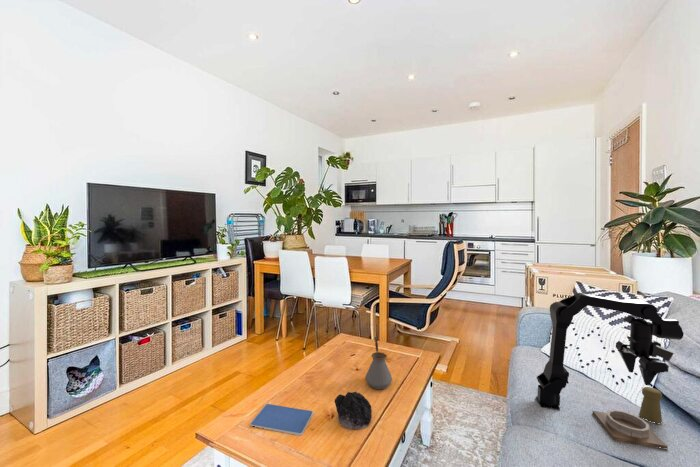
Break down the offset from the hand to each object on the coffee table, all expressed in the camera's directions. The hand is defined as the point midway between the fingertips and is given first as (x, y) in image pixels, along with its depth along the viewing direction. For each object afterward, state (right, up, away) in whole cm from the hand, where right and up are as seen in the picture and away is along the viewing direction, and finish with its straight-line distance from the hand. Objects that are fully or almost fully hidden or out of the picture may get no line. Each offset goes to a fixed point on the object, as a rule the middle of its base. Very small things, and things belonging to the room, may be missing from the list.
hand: (638, 378), depth 109 cm
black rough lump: (-103, -14, -1) cm, 104 cm away
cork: (+5, -15, 0) cm, 16 cm away
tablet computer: (-128, -14, -2) cm, 129 cm away
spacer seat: (-10, -15, -6) cm, 19 cm away
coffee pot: (-92, -13, +26) cm, 97 cm away
